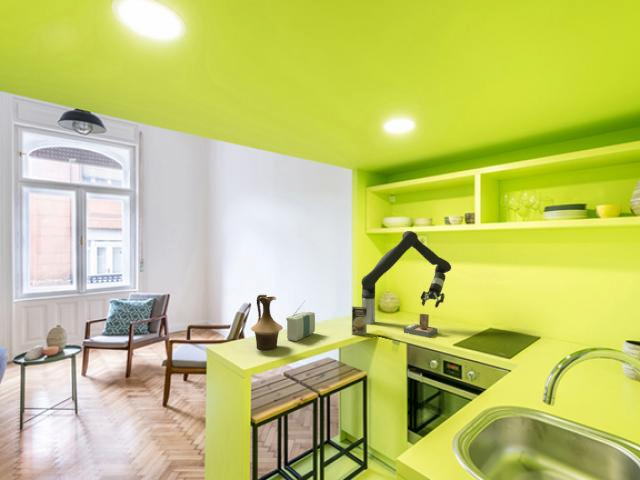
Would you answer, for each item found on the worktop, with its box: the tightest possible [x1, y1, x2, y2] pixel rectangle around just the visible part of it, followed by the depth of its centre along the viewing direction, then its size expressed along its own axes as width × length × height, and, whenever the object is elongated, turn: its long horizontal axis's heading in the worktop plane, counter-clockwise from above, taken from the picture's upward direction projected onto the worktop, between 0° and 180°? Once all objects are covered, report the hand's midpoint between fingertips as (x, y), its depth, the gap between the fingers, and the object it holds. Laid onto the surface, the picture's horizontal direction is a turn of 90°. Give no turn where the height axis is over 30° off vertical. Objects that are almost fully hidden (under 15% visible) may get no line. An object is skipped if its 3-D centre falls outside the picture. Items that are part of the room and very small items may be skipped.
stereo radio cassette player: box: [285, 300, 316, 342], centre depth 191 cm, size 21×8×20 cm, turn 151°
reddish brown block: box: [418, 313, 430, 330], centre depth 198 cm, size 4×4×9 cm
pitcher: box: [250, 294, 284, 351], centre depth 171 cm, size 18×17×28 cm
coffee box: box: [351, 306, 368, 336], centre depth 197 cm, size 9×6×16 cm
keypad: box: [403, 322, 438, 338], centre depth 199 cm, size 16×13×4 cm
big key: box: [415, 327, 432, 332], centre depth 198 cm, size 9×11×2 cm
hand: (429, 306), depth 204 cm, fingers open, 8 cm apart
